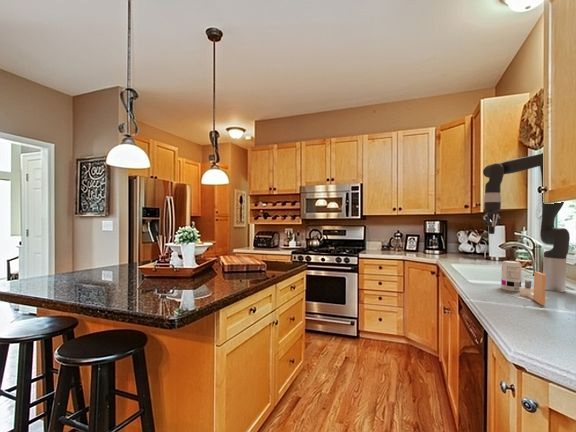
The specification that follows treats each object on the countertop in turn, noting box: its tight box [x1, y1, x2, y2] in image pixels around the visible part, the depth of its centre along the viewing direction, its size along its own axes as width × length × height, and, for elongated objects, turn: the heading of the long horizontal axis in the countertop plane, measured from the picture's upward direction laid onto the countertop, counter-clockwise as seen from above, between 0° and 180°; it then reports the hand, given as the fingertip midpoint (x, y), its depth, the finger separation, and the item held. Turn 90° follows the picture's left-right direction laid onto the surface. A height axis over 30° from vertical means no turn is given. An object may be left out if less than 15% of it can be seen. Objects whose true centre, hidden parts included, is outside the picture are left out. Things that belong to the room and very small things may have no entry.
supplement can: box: [500, 260, 523, 292], centre depth 161 cm, size 8×8×15 cm
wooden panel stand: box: [519, 271, 546, 306], centre depth 141 cm, size 21×6×13 cm, turn 159°
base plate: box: [504, 280, 552, 302], centre depth 148 cm, size 16×13×8 cm
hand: (491, 233), depth 169 cm, fingers closed
